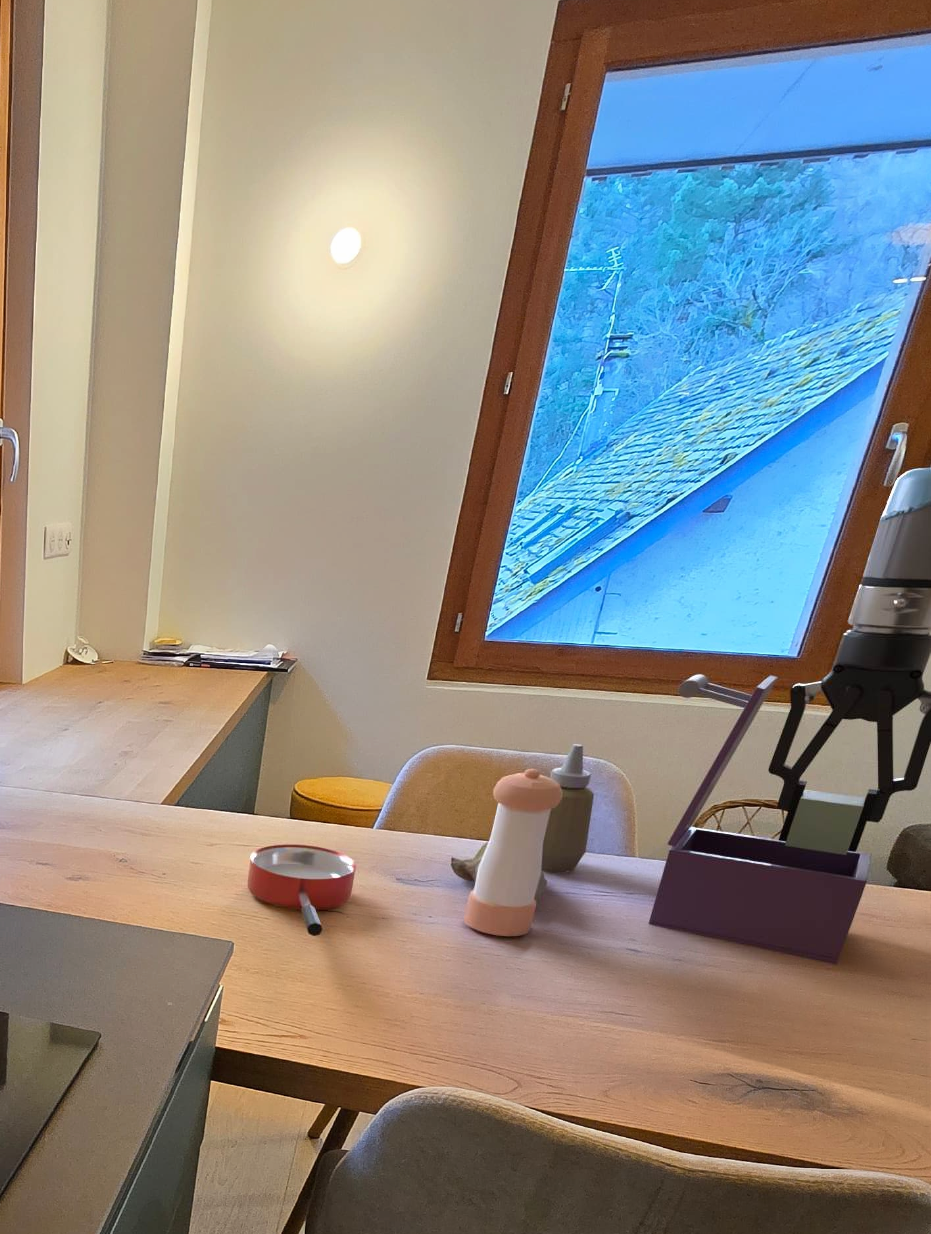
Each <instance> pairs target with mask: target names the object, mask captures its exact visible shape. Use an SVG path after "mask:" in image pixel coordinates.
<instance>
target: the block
mask: <svg viewBox="0 0 931 1234" xmlns="http://www.w3.org/2000/svg"><path fill="white" fill-rule="evenodd" d="M865 798H866V797H863V796H856V795H855V796H854V795H847V794H839V793H832V792H822V791H817V790H816V791H815V790H808V789H804V792H803V794H802V796H801V798H800V801H799V804H798V807H797V810H796V813H795V816H794V819H793V822H792V825H791V828H790V831H789V834H788V837H787V840H786V843H785V846H789V847H796V848H803V849H809V850H816V851H822V852H829V853H835V854H842V855H846V854H847V852H848V849H849V846H850V843H851V840H852V838H853V835H854V832H855V829H856V826H857V824H858V821H859V818H860V815H861V812H862V809H863V806H864V801H865Z"/></svg>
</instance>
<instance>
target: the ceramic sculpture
mask: <svg viewBox="0 0 931 1234" xmlns="http://www.w3.org/2000/svg"><path fill="white" fill-rule="evenodd" d="M488 842H489V841H487V842H485V843H484V844H482V846H481V847H480V848H479V850H478V851H477V852H476V854H475V855H474V856H473V858H469V859H468V858H466V859H459V858H456V857H451V859H450V862H451V863H450V866H451V869H452V871H453V872H454V874H455V875H456V876H457V877H458V878H460V879H462V880H464V881H467V882H472V883H475V882H476V877H477V871H478V867H479V864H480V862H481V859H482V857H483V854H484V852H485V849H486V847H487V845H488ZM547 884H548V880H547V879H546V877H545V873H544V871H542V869H541V875H540V879H539V882H538V886H537V889H536V893H535V896H534V899H535V901H536V902H537V901H538V900H539V899H540V898H541V896H542V895H543V893H544V891H545V889H546V887H547Z"/></svg>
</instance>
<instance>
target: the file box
mask: <svg viewBox="0 0 931 1234" xmlns="http://www.w3.org/2000/svg"><path fill="white" fill-rule="evenodd" d="M785 843H786V841H780V840H779V839H775V838H770V837H769V838H768V837H761V836H755V835H749V834H748V835H747V834H741V833H735V832H729V831H721V830H714V829H708V828H701V827H695V826H691V827H690V828H689V830H688V831H687V832H686V833H685V834H684V836H683V837H682V838H681V839H680V840H679V842H678V843H677V844H676V845H675V846H674V847H673V846H671V847H670V848H669V849H668V854H667V856H666V860H665V863H664V867H663V870H662V871H663V872H662V875H661V878H660V881H659V885H658V887H657V891H656V895H655V899H654V903H653V906H652V910H651V913H650V917H649V920H648V923H647V924H648V925H652V926H656V927H659V928H665V929H670V930H674V931H679V932H683V933H688V934H693V935H698V936H702V937H707V938H711V939H716V940H721V941H725V942H730V943H734V944H738V945H744V946H747V947H752V948H758V949H760V950H761V949H762V950H767V951H770V952H775V953H781V954H784V955H790V956H794V957H799V958H804V959H808V960H812V961H816V962H821V963H827V964H829V965H830V964H831V965H835V966H837V965H838V962H839V960H840V957H841V954H842V952H843V949H844V945H845V943H846V940H847V938H848V936H849V932H850V929H851V926H852V924H853V921H854V918H855V916H856V912H857V910H858V908H859V904H860V902H861V900H862V897H863V893H864V891H865V888H866V885H867V882H868V878H869V872H870V866H871V861H872V855H873V853H869V852H863V851H856V852H853V851H848V852H847V854H846V855H842V854H835V853H829V852H822V851H816V850H809V849H803V848H796V847H789V846H785Z"/></svg>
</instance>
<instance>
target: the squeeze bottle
mask: <svg viewBox="0 0 931 1234" xmlns="http://www.w3.org/2000/svg"><path fill="white" fill-rule="evenodd" d="M591 776H592V774H591V773H590V771H587V770H585V769H584V745H583V744H581V743H573V744H572V746H571V748H570V749H569V751H568V754H567V756H566V758H565V760H564V762H563V764H562V765H561V767H555V768H553V769H551V772H550V776H549V778H550V779H552V780H554V781H556V782H557V783H558V784H559V785H560V787H561V789H562V799H561V801H560V802H559V804H558V805H557V806H556V807H555V808H552V809H551V811H550V815H549V819H548V823H547V828H546V832H545V836H544V840H543V848H542V864H541V869H542V871H543V872H546V873H555V874H556V873H557V874H558V873H559V874H560V873H562V874H563V873H564V874H565V873H569V872H572V871H574V870H575V868H576V867H577V865H578V864H579V862H580V861H581V859H582V858H583V857H584V855H585V854H586V851H587V845H588V839H589V830H590V825H591V817H592V811H593V810H592V809H593V803H594V795H595V794H594V792H593V791H592V790H591V789H590V788H589V787H588V786H589V785H590V781H591Z"/></svg>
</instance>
